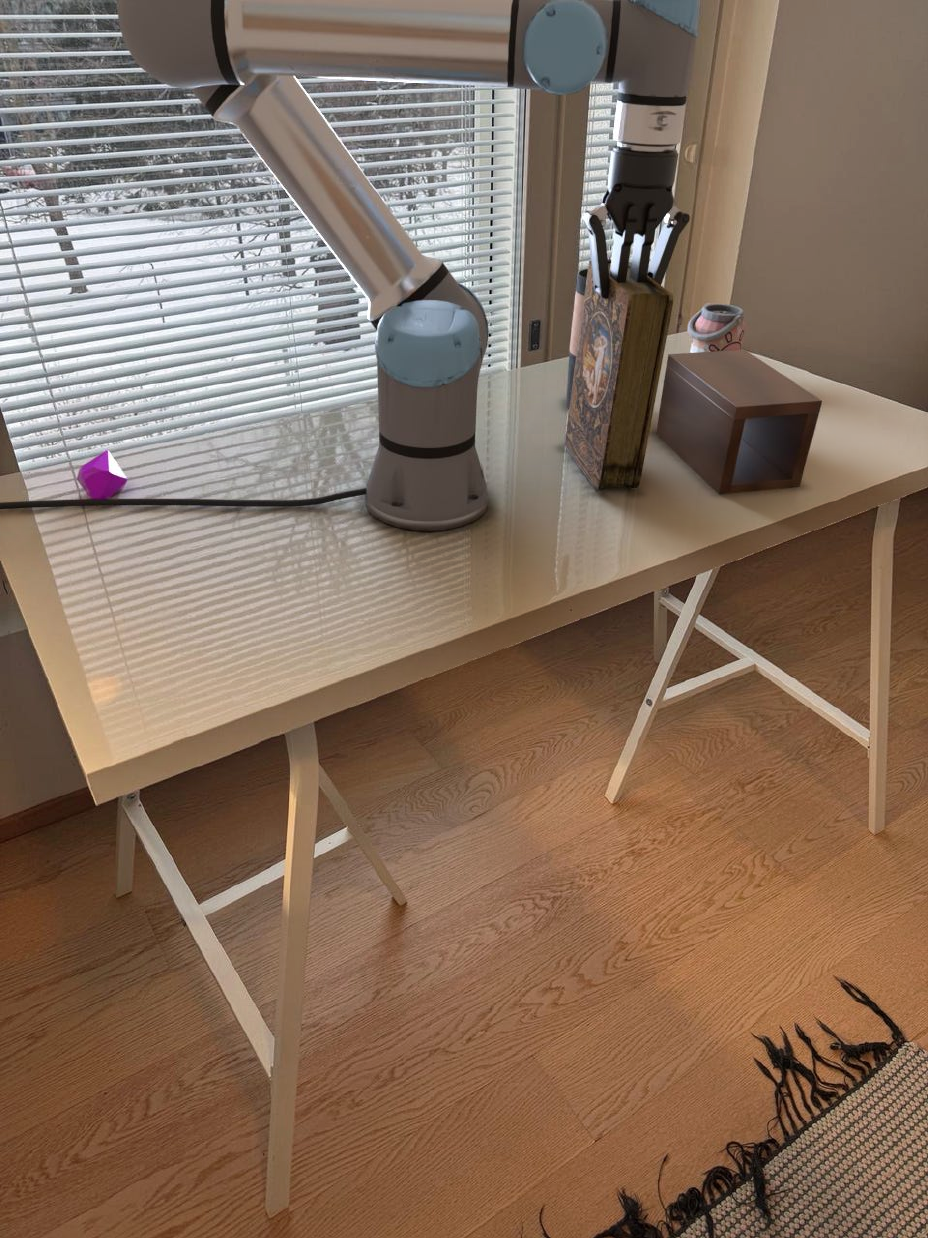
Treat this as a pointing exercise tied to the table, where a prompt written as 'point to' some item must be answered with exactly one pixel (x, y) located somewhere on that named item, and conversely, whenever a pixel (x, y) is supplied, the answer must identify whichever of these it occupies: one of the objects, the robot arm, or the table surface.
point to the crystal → (101, 477)
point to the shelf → (736, 420)
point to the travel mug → (576, 329)
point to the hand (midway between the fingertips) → (617, 353)
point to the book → (617, 379)
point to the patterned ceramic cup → (717, 328)
